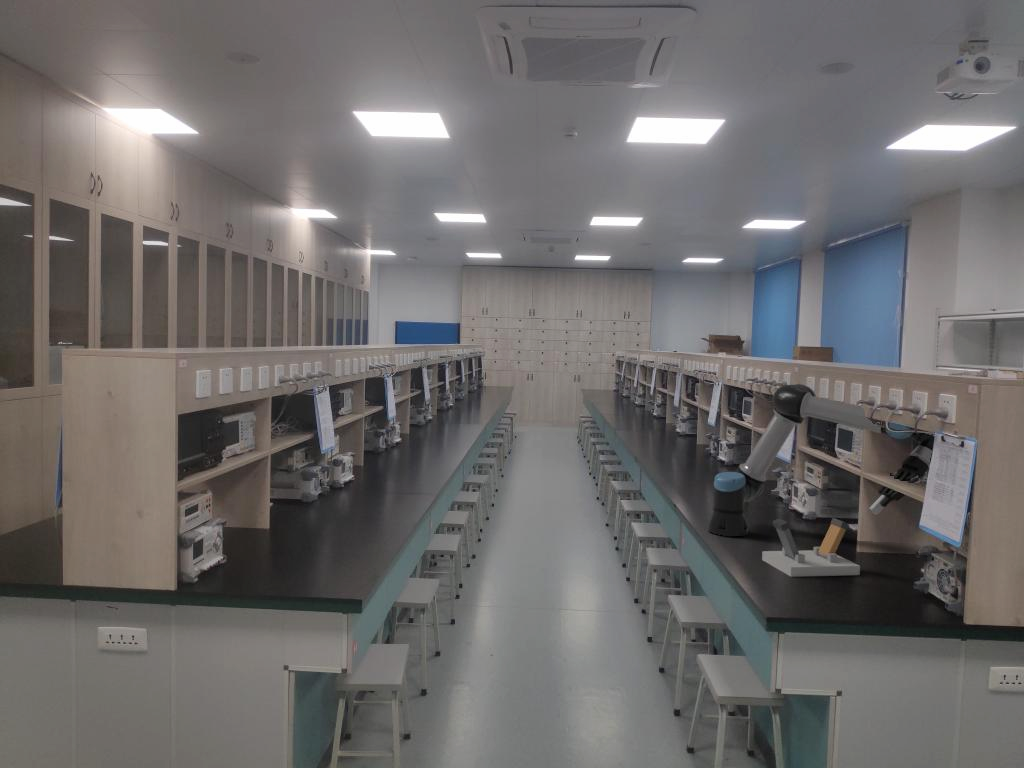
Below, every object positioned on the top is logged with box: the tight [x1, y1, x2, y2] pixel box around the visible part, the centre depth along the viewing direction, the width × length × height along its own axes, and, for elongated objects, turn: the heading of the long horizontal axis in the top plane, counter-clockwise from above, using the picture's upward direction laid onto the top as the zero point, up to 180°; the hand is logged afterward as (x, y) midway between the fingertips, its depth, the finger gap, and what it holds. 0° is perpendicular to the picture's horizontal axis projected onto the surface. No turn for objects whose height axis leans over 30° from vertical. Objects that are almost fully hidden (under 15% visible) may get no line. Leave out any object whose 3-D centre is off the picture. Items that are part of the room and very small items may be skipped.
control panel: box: [761, 546, 861, 578], centre depth 214 cm, size 17×24×6 cm
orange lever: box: [818, 517, 850, 558], centre depth 215 cm, size 5×3×13 cm, turn 8°
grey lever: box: [772, 517, 799, 559], centre depth 212 cm, size 5×3×13 cm, turn 8°
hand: (873, 511), depth 216 cm, fingers closed
